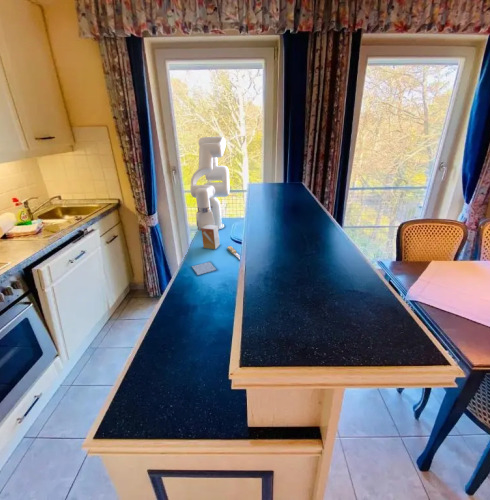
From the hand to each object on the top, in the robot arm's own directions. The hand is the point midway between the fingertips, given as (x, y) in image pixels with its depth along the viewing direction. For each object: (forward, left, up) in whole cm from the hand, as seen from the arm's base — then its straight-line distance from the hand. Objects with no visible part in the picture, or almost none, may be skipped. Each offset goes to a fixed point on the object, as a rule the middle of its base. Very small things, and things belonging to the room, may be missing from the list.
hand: (207, 237), depth 173 cm
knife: (+23, +8, -4) cm, 25 cm away
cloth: (+30, -13, -4) cm, 33 cm away
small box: (+7, 0, -4) cm, 8 cm away
